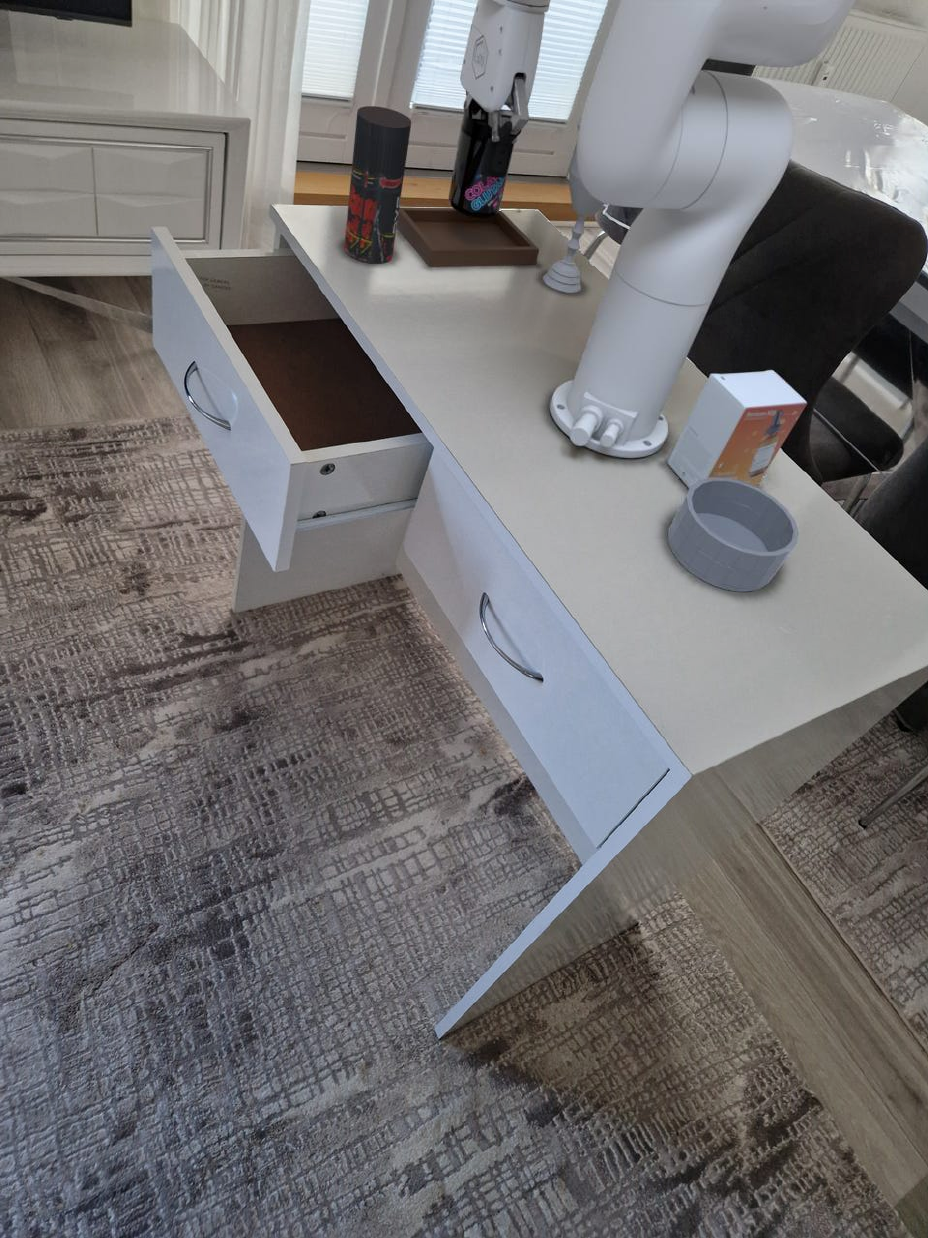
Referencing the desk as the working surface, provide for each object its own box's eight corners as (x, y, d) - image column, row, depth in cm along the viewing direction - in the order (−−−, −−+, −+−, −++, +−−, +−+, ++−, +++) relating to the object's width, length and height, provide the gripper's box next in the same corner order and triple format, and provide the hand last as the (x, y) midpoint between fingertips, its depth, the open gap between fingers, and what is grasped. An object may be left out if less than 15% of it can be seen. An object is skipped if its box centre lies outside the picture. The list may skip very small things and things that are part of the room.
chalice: (529, 283, 103) (571, 128, 90) (541, 263, 108) (583, 113, 95) (584, 302, 103) (634, 149, 90) (593, 281, 107) (642, 132, 94)
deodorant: (343, 237, 101) (356, 102, 90) (391, 244, 102) (409, 112, 91) (344, 259, 97) (357, 121, 86) (393, 266, 98) (413, 131, 88)
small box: (695, 499, 79) (744, 407, 72) (665, 463, 82) (709, 371, 75) (757, 490, 82) (810, 402, 75) (725, 456, 86) (773, 367, 78)
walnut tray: (429, 266, 100) (432, 250, 99) (393, 223, 107) (395, 206, 105) (535, 264, 107) (539, 249, 106) (495, 223, 113) (499, 208, 112)
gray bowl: (765, 608, 71) (791, 572, 67) (656, 561, 72) (676, 523, 68) (779, 542, 77) (803, 506, 74) (679, 499, 79) (699, 462, 75)
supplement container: (449, 215, 101) (466, 122, 93) (444, 192, 105) (461, 102, 97) (501, 224, 102) (523, 134, 95) (495, 201, 107) (515, 113, 99)
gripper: (456, -45, 90) (428, 131, 103) (519, 5, 80) (480, 192, 93) (516, -34, 93) (481, 136, 106) (584, 15, 83) (537, 195, 96)
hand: (481, 161), depth 99 cm, fingers closed on supplement container, 6 cm apart
